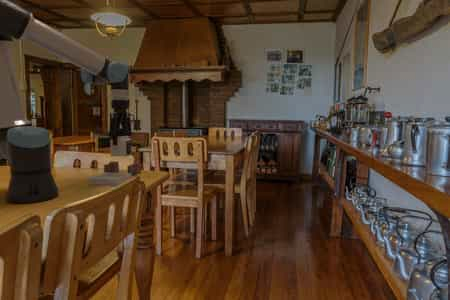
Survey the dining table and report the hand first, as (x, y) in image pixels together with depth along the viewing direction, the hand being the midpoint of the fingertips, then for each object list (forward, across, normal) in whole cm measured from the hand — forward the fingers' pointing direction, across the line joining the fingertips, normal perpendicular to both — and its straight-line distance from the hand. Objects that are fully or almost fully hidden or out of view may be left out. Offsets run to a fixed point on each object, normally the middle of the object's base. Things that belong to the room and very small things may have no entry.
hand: (121, 151), depth 145 cm
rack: (+11, 0, 0) cm, 11 cm away
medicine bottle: (+2, 0, 0) cm, 2 cm away
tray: (+11, -13, -2) cm, 17 cm away
